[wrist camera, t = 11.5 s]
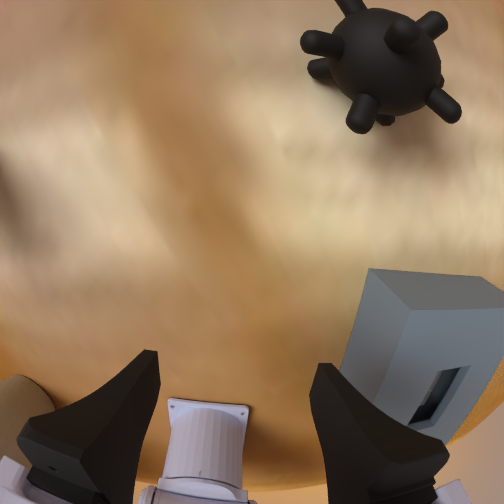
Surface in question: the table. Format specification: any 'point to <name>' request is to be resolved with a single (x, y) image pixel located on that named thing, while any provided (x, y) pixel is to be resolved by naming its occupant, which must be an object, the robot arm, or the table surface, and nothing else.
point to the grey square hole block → (425, 346)
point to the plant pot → (19, 413)
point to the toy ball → (382, 64)
